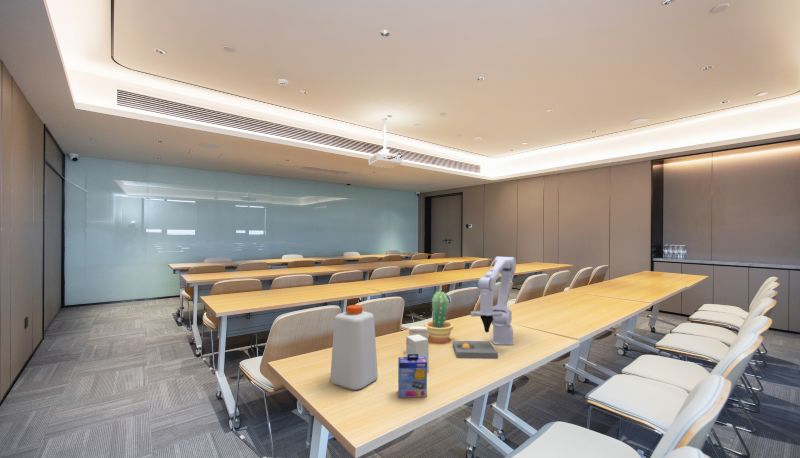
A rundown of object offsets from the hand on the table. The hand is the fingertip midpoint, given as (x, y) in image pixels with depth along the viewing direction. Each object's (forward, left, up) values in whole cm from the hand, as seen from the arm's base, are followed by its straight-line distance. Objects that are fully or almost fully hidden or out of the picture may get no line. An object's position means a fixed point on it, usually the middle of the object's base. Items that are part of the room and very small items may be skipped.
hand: (486, 331), depth 157 cm
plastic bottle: (+57, +32, -10) cm, 66 cm away
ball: (+10, +1, -7) cm, 12 cm away
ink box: (+32, +2, -10) cm, 33 cm away
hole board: (+6, 0, -9) cm, 11 cm away
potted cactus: (+21, -17, -10) cm, 29 cm away
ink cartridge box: (+35, +42, -10) cm, 56 cm away
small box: (+33, +21, -10) cm, 40 cm away
